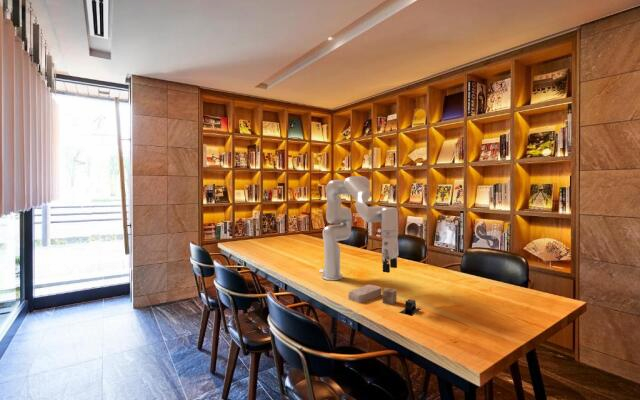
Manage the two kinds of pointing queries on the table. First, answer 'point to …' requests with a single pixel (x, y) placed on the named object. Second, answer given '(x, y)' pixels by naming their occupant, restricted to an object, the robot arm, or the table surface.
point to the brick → (365, 293)
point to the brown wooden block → (389, 296)
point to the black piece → (410, 308)
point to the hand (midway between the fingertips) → (390, 269)
